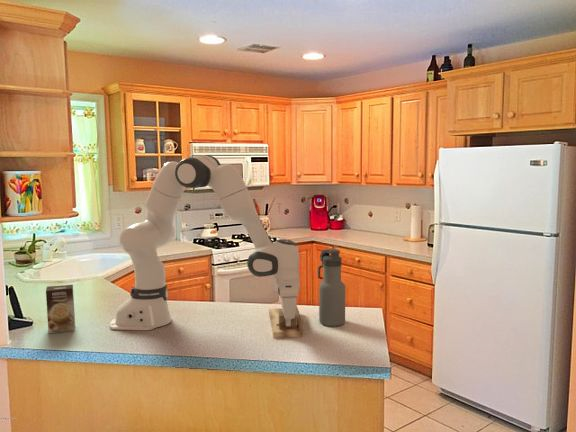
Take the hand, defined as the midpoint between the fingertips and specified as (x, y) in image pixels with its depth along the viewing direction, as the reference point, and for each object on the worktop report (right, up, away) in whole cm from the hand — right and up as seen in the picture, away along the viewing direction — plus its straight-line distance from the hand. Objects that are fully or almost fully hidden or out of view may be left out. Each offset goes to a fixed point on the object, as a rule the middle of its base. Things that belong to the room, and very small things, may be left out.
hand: (287, 323), depth 177 cm
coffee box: (-83, -4, +6) cm, 84 cm away
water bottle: (+17, -2, +10) cm, 20 cm away
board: (-1, -3, +9) cm, 9 cm away
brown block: (0, -2, 0) cm, 2 cm away
